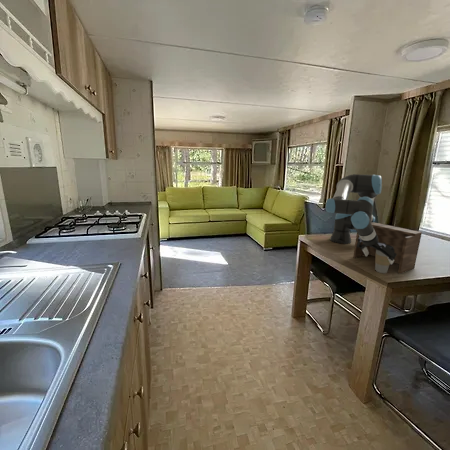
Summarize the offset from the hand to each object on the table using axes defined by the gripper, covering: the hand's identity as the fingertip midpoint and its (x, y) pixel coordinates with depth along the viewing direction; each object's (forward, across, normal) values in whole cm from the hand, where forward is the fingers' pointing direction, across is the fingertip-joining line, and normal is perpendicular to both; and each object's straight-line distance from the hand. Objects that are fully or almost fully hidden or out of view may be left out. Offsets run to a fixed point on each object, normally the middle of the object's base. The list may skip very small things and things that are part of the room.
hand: (379, 258), depth 140 cm
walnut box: (+19, -7, +7) cm, 22 cm away
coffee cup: (+10, 0, -3) cm, 10 cm away
